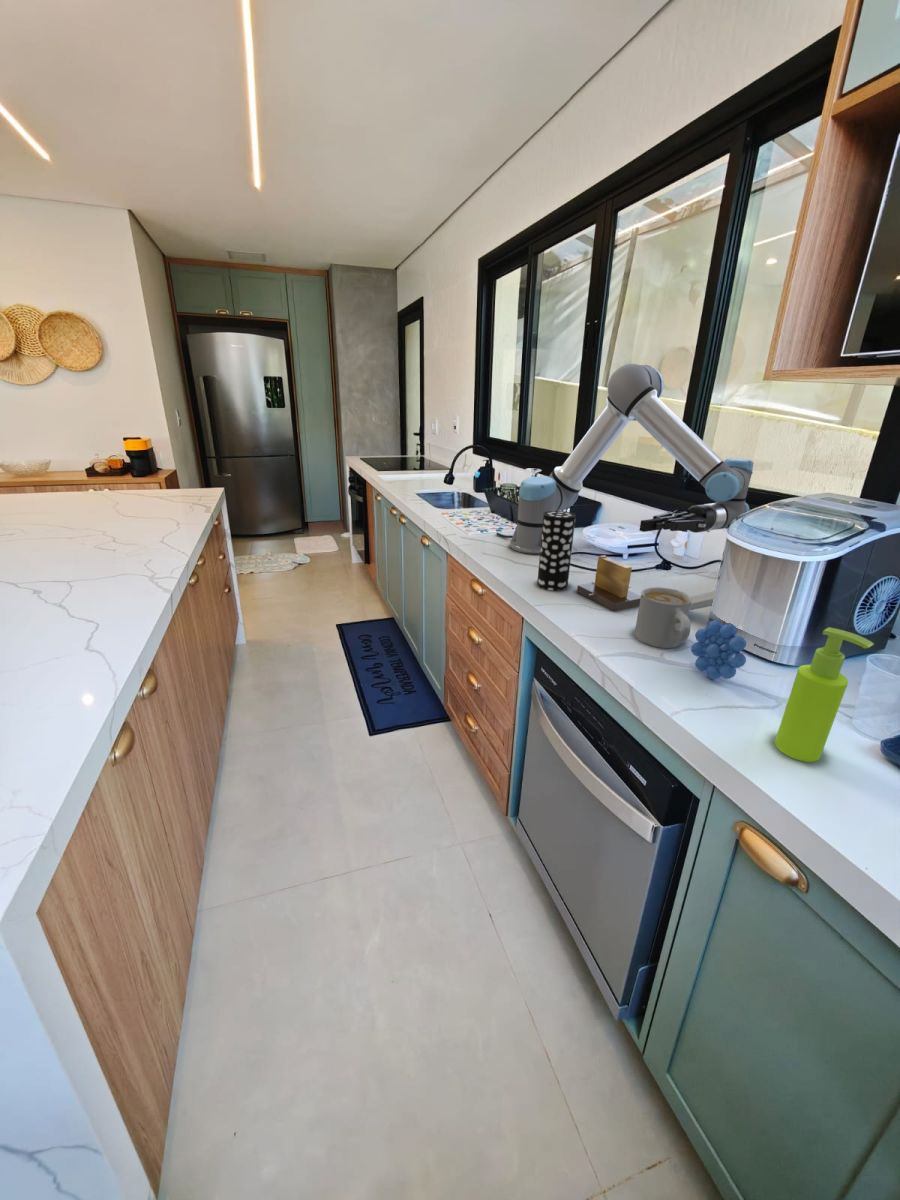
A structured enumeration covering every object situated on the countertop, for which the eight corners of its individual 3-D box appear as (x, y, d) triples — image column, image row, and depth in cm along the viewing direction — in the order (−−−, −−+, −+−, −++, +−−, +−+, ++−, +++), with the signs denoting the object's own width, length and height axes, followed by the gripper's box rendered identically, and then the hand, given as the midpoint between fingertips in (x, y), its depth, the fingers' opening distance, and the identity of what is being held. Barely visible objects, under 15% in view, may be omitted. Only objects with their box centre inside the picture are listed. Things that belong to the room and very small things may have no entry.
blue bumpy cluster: (754, 691, 92) (771, 632, 87) (724, 696, 90) (740, 636, 85) (706, 660, 102) (720, 606, 97) (678, 665, 100) (691, 609, 95)
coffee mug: (628, 627, 116) (635, 586, 112) (671, 628, 116) (679, 587, 112) (649, 655, 103) (658, 611, 99) (697, 656, 103) (708, 611, 100)
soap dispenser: (818, 771, 72) (865, 648, 64) (767, 745, 77) (805, 628, 70) (834, 756, 75) (880, 636, 68) (784, 732, 80) (822, 618, 73)
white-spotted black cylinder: (535, 588, 138) (541, 516, 130) (539, 578, 145) (545, 509, 137) (566, 592, 135) (574, 519, 128) (568, 582, 143) (576, 512, 135)
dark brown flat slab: (649, 603, 129) (651, 595, 128) (607, 612, 123) (608, 604, 122) (610, 585, 141) (611, 578, 140) (570, 593, 135) (571, 585, 134)
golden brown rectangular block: (627, 597, 128) (632, 566, 124) (621, 598, 127) (626, 567, 124) (600, 584, 136) (604, 554, 133) (594, 585, 135) (598, 555, 132)
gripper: (721, 536, 137) (659, 546, 128) (682, 525, 148) (622, 534, 138) (727, 509, 135) (664, 517, 125) (687, 500, 145) (626, 507, 136)
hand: (642, 526), depth 132 cm, fingers closed
